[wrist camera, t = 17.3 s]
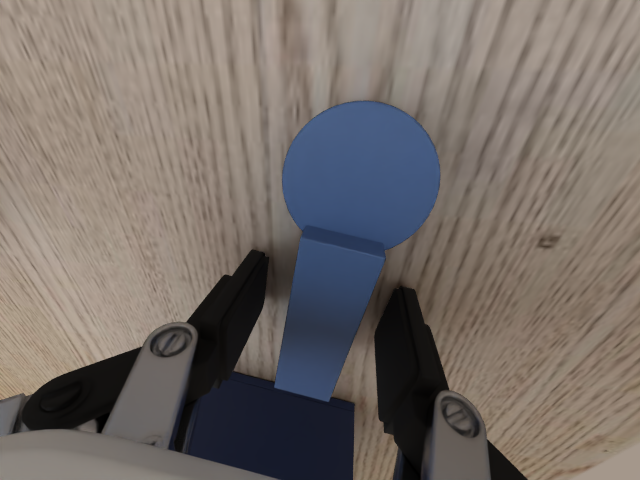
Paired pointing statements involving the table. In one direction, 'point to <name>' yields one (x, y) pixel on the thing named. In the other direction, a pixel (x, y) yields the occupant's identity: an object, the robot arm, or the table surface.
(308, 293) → the blue spoon
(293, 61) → the table surface
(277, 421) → the blue bin
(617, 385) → the table surface
